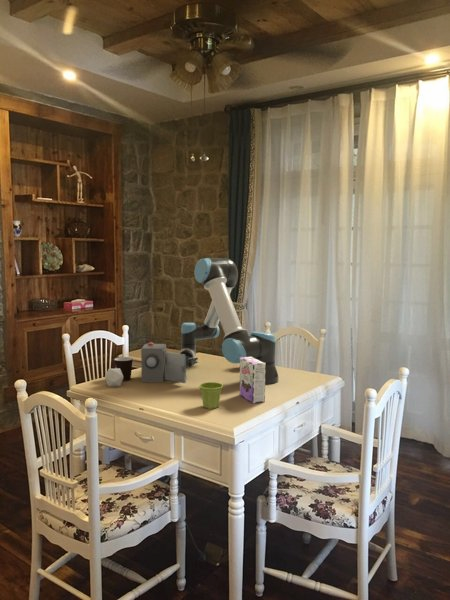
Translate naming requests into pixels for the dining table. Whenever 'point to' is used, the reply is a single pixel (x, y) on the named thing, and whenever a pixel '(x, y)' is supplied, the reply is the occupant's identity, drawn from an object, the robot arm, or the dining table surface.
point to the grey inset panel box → (152, 362)
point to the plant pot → (211, 394)
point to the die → (114, 377)
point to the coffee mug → (124, 366)
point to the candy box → (252, 379)
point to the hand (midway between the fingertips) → (180, 367)
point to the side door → (174, 366)
